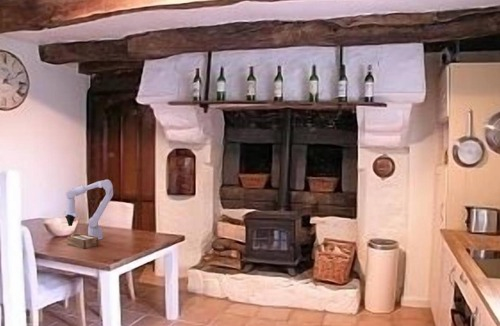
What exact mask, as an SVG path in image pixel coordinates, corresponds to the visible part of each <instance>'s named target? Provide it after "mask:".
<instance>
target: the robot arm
mask: <svg viewBox="0 0 500 326" xmlns="http://www.w3.org/2000/svg"><path fill="white" fill-rule="evenodd" d="M96 188H100V189H102V188H103V190H105V191H104V192H105V196H104V197H103V198H102V200H101V201H100V204H99V205H98V206H97V209H96V211H95V212H94V213H93V215H92V216H91V217H90V218H89V219H88V227H87V235H90V236H94V237H98V241H100V240H104V237H103V227H102V226H101V225H99V221H100V219H101V217H102V215H103V213H104V211H105V210H106V208H107V207H108V205H109V203H110V201H111V200H112V198H113V197H114V186H113V183H112V181H111V180H110V179H104V180H103V179H102V180H98V181H95V182H93V183H91V184H88V185H86V186H85V185H81V184H80V185H78V186H77V187H72V188H71V189H68V190H67V191H66V193H65V196H66V200H65V201H66V202H65V208H66V209H65V211H63V212H62V213H63V215H65V216H64V217H65V218H66V221H67V225H68V227H72V226H73V225H74V220H75V219H76V218H78V217H79V214H78V213H76V198H75V197H77V196H81V195H84V194H86V193H87V191H90V190H93V189H96Z"/></svg>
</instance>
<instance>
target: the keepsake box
mask: <svg viewBox="0 0 500 326" xmlns="http://www.w3.org/2000/svg"><path fill="white" fill-rule="evenodd" d="M81 235H85V236H90V235H88V234H84V233H81ZM90 237H94V236H90ZM67 245H68V246H69V247H70V246H71V247H75V248H79V249H83V250H84V249H86V250H87V249H90V248H95V247H99V240H98V237H94V238H90V239H86V240H82V239H78V238H73V237H71V236H69V235H68V236H67Z"/></svg>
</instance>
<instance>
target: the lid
mask: <svg viewBox="0 0 500 326" xmlns="http://www.w3.org/2000/svg"><path fill="white" fill-rule="evenodd" d="M81 234H82V232H77V233H72V234H71V235H70V237H73V238H78V239H82V240H86V239H90V238H94V237H90V236H85V235H86V234H85V235H81Z"/></svg>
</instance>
